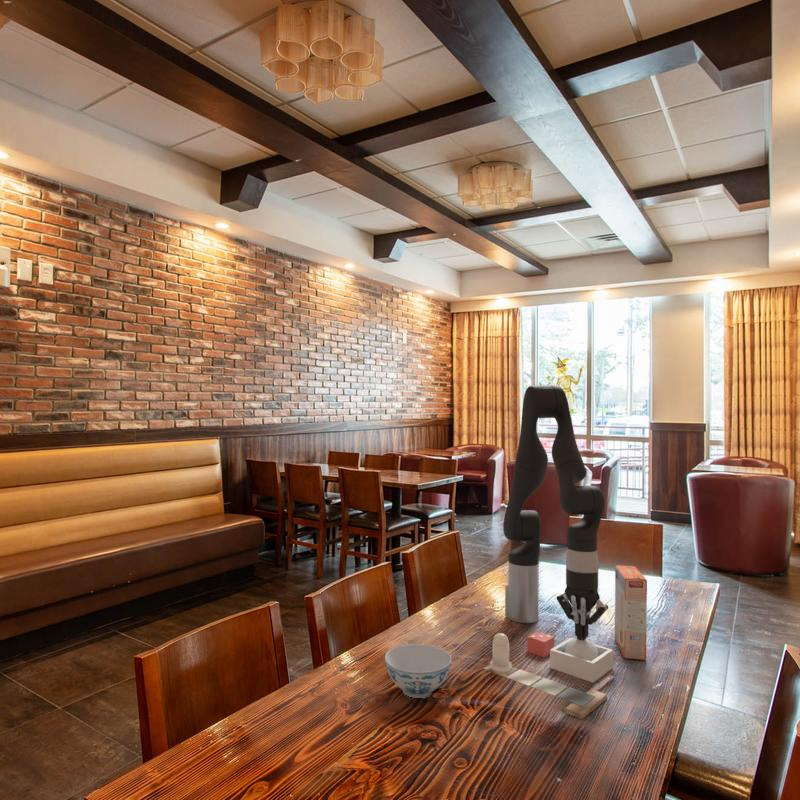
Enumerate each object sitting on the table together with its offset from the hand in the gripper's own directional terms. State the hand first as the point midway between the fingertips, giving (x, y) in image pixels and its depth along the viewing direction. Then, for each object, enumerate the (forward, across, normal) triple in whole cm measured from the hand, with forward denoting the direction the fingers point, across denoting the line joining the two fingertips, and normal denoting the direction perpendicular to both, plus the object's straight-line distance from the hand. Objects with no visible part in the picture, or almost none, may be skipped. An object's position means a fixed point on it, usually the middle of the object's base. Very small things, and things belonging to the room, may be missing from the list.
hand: (581, 638), depth 140 cm
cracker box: (+8, +3, +23) cm, 24 cm away
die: (+8, -12, +2) cm, 15 cm away
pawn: (+7, -14, -14) cm, 21 cm away
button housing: (+8, 0, 0) cm, 8 cm away
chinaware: (+8, -22, -35) cm, 43 cm away
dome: (+8, 0, 0) cm, 8 cm away
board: (+8, -4, -14) cm, 17 cm away
